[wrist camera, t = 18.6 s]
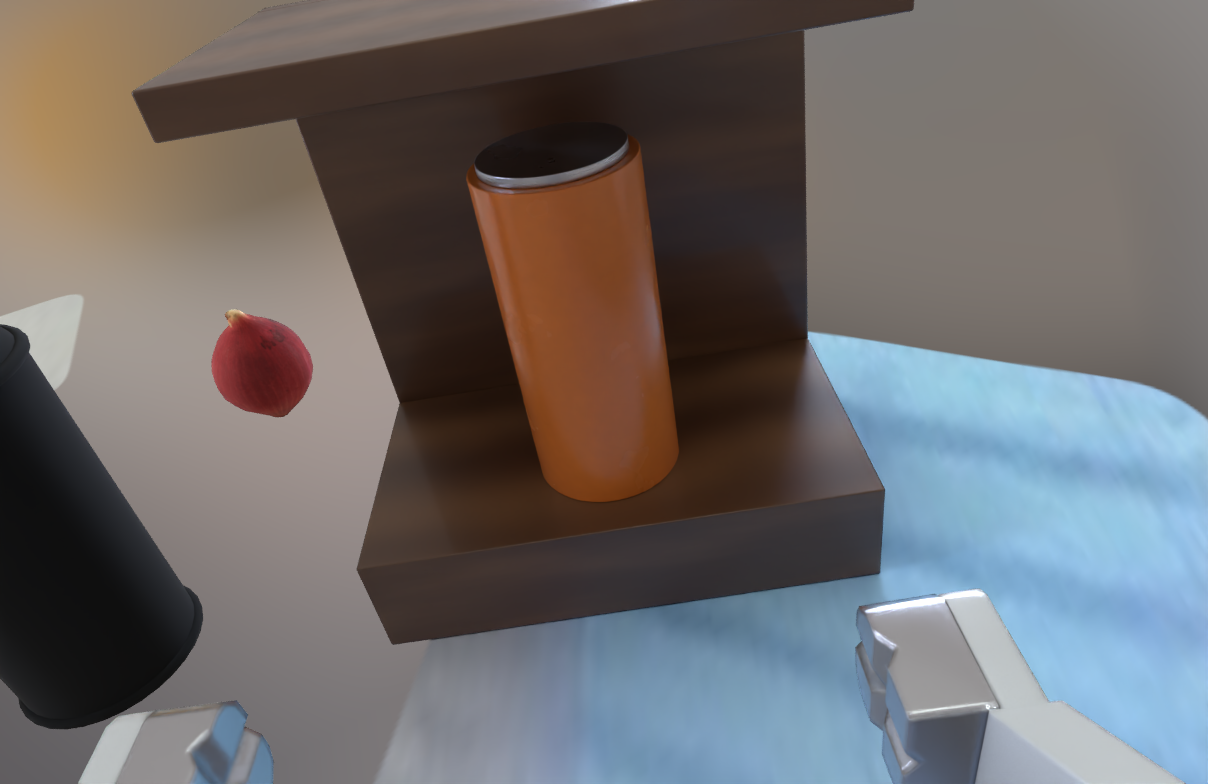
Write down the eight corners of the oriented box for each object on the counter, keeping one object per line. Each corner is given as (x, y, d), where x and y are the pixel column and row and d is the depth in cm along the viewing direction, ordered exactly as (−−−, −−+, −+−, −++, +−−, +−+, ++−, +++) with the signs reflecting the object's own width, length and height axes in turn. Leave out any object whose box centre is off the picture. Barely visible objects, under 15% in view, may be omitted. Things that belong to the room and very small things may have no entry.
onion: (315, 378, 57) (271, 276, 53) (339, 414, 53) (294, 307, 48) (232, 413, 55) (179, 311, 50) (250, 453, 51) (194, 345, 46)
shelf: (880, 573, 36) (918, -49, 22) (391, 645, 37) (129, 91, 23) (804, 402, 46) (796, -89, 33) (427, 461, 47) (263, 8, 33)
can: (703, 428, 38) (670, 120, 30) (635, 519, 34) (575, 188, 26) (588, 401, 41) (530, 115, 33) (513, 480, 37) (426, 176, 29)
